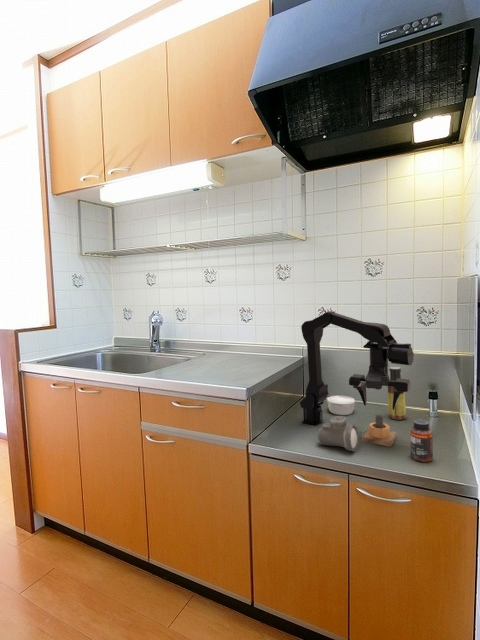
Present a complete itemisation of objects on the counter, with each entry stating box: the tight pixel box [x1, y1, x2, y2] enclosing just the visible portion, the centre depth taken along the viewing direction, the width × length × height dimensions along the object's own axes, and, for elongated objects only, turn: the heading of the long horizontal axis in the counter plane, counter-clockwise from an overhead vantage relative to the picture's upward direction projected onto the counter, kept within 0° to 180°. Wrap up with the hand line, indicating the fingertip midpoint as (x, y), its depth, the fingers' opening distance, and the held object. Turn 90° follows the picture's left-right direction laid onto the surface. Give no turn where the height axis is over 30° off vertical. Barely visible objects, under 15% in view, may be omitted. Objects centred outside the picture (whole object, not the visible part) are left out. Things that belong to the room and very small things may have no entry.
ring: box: [368, 421, 391, 438], centre depth 123 cm, size 6×6×3 cm
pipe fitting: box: [317, 415, 359, 452], centre depth 118 cm, size 12×8×10 cm, turn 55°
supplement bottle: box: [410, 418, 434, 463], centre depth 108 cm, size 6×6×11 cm
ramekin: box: [326, 395, 356, 416], centre depth 151 cm, size 11×11×5 cm
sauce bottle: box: [387, 366, 407, 421], centre depth 141 cm, size 7×6×20 cm
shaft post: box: [361, 414, 397, 448], centre depth 123 cm, size 9×9×8 cm
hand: (379, 407), depth 123 cm, fingers open, 9 cm apart
